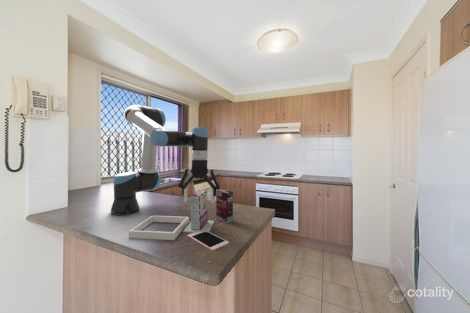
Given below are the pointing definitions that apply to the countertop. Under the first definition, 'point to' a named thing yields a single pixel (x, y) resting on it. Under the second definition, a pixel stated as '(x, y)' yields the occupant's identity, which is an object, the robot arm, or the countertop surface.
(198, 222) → the candy bar box
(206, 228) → the mat
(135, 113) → the robot arm
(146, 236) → the tray
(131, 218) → the countertop surface
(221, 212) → the supplement box
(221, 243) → the cell phone
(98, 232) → the countertop surface
